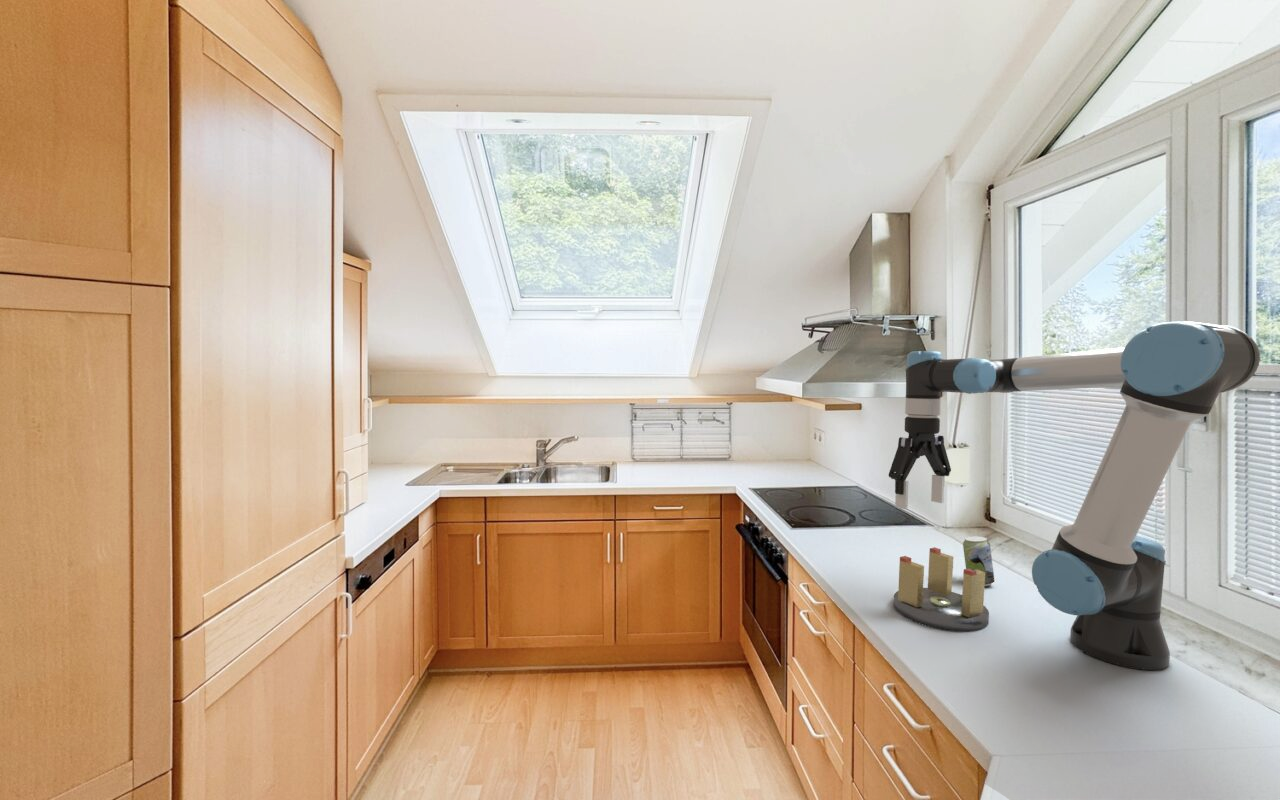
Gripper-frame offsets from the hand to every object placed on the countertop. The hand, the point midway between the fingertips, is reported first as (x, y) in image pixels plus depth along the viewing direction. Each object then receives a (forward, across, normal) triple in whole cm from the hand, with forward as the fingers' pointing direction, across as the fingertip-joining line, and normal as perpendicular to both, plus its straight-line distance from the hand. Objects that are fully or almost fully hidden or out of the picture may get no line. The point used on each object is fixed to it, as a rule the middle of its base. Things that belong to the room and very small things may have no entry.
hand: (919, 505), depth 141 cm
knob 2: (+20, -1, +5) cm, 21 cm away
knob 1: (+20, +11, +6) cm, 23 cm away
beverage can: (+22, -21, +2) cm, 30 cm away
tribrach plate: (+22, +4, +9) cm, 24 cm away
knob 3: (+20, +4, +16) cm, 26 cm away
